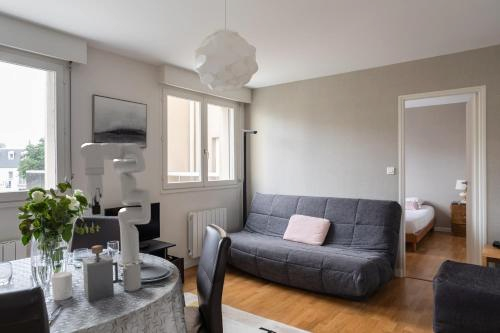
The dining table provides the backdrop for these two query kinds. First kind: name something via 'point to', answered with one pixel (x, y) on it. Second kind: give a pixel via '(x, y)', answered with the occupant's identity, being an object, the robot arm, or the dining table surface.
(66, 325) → the dining table surface
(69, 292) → the white cup
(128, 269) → the can
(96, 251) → the plunger
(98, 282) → the press carafe
